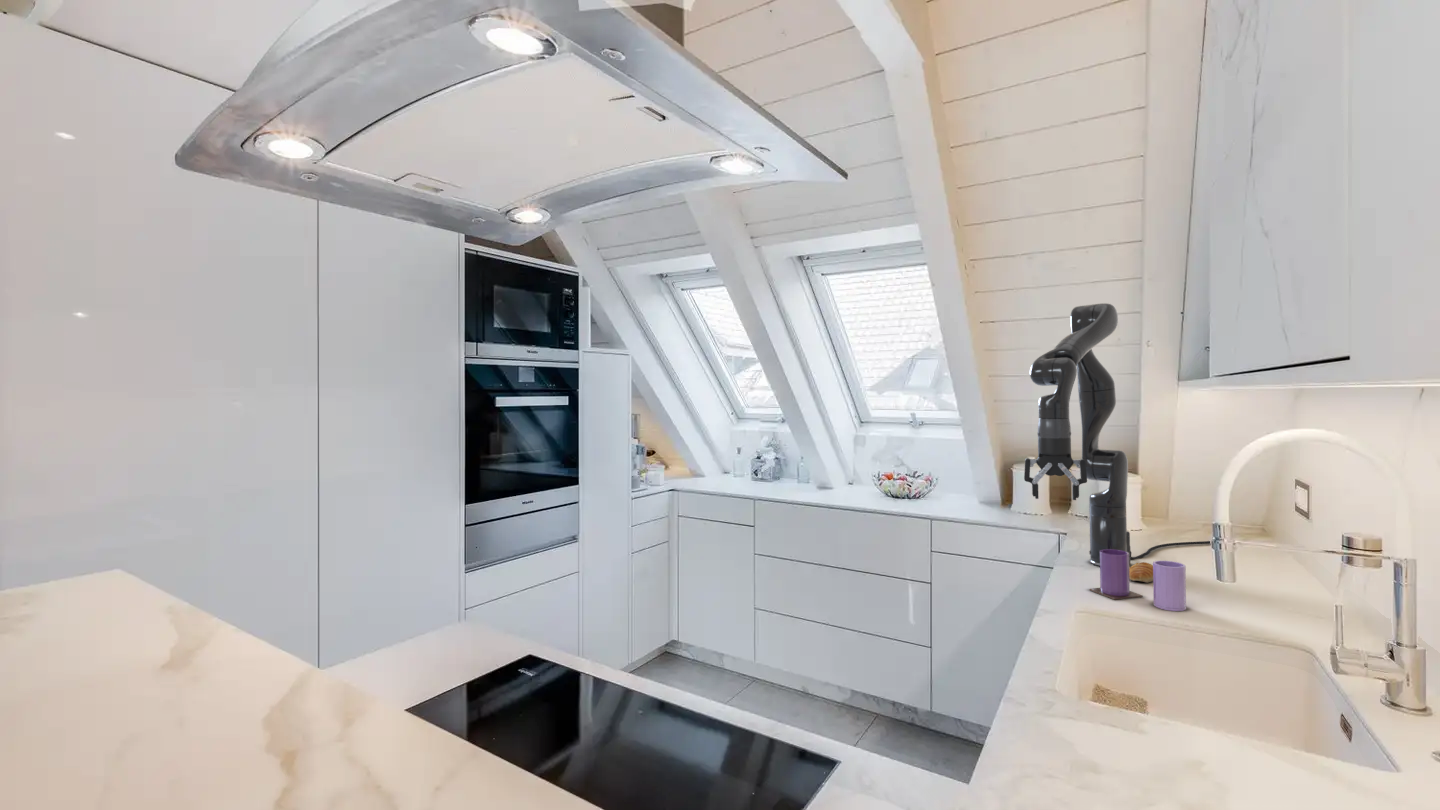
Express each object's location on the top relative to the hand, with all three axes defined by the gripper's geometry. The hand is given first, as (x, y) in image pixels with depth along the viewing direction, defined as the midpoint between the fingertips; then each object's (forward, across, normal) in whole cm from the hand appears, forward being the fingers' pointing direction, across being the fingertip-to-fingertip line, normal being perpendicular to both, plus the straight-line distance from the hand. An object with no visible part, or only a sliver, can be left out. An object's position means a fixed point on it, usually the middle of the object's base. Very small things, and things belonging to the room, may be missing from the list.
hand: (1055, 499), depth 167 cm
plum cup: (+23, -13, 0) cm, 26 cm away
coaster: (+23, -13, 0) cm, 26 cm away
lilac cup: (+23, -23, +7) cm, 33 cm away
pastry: (+23, -21, -17) cm, 36 cm away
